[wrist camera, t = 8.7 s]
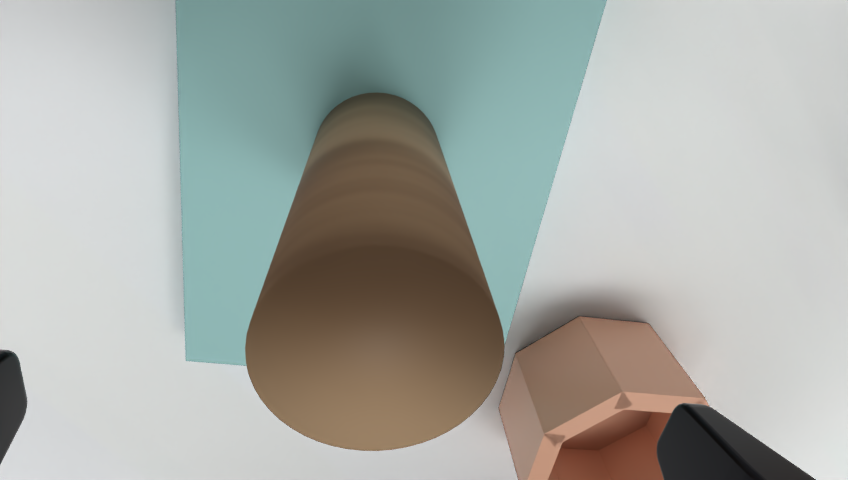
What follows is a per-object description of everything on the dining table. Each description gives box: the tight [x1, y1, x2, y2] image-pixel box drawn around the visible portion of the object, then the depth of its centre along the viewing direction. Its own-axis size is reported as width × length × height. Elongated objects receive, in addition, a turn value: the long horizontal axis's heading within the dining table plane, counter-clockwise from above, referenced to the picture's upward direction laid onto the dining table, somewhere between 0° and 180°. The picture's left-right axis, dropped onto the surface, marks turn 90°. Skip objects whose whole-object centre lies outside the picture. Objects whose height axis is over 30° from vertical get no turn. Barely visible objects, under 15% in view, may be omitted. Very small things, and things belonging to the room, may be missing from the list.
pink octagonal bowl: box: [499, 316, 710, 480], centre depth 23 cm, size 8×8×4 cm
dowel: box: [245, 92, 504, 451], centre depth 13 cm, size 4×4×10 cm
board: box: [176, 0, 607, 366], centre depth 18 cm, size 18×12×2 cm, turn 170°
